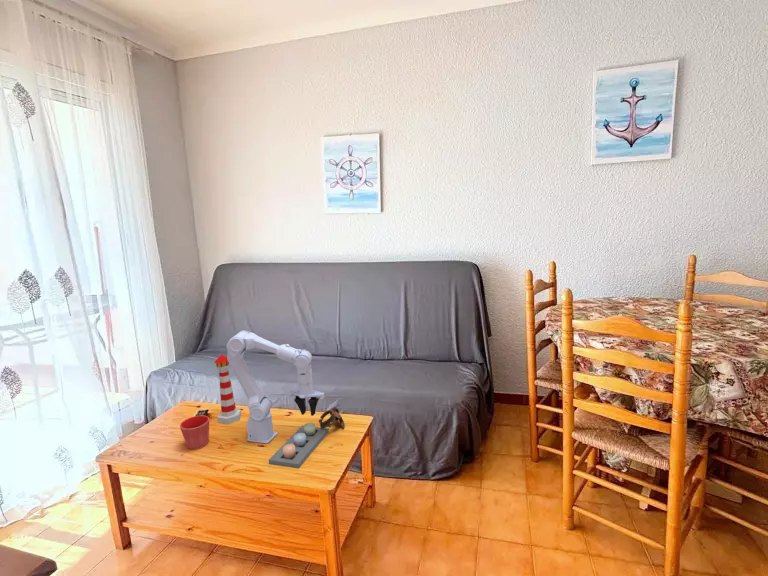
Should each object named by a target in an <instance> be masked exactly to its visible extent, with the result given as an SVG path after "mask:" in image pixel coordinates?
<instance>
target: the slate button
mask: <svg viewBox="0 0 768 576" xmlns="http://www.w3.org/2000/svg"><path fill="white" fill-rule="evenodd" d="M306 436H307V435H305V433H297V434H295V435H294V444H295V447H304V446H305V445H306Z"/></svg>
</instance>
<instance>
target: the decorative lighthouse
mask: <svg viewBox="0 0 768 576" xmlns="http://www.w3.org/2000/svg"><path fill="white" fill-rule="evenodd" d="M213 363H215V364H216V370H218V375H219V376H218V379H219V390H220V391H219V392H220V393H219V394H220V408H221V409H220V412H219V413H218V416H217V418H216V419H217V423H218V424H223V425H224V424H225V425H230V424H233V423H236V422H238V421H240V419H241V416H242V410H241V409H239V408H237V405H236V401H235V396H234V392H233V386H232V381H231V376H230V371H229V367H230V364H229V362H228V360H227V355H223V354H221V355H219V356H218V357H217V358H216V359H215V361H214V362H213Z"/></svg>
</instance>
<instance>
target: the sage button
mask: <svg viewBox="0 0 768 576" xmlns="http://www.w3.org/2000/svg"><path fill="white" fill-rule="evenodd" d="M303 426H304V433H305V435H306V436H314V435H315V434H316V430H315V427H316V424H315V423H314V422H307V423H305V424H304V425H303Z"/></svg>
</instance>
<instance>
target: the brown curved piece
mask: <svg viewBox="0 0 768 576" xmlns="http://www.w3.org/2000/svg"><path fill="white" fill-rule="evenodd" d="M328 415H330V416H329V417H328V419H326V420H325V421H324V418H326V417H327V416H328ZM337 422H339V423H340V426H341V428H342V430H343V429H345V422H344V419H343V417H342V415H341V414H340V411H339V409H338V408H337V407H333V408H332V409H328V410H326V411H324V412H323V413H322V415H321V416H320V417H319V420H318V423H319V427H320V428H331V424H335V423H337Z"/></svg>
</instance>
